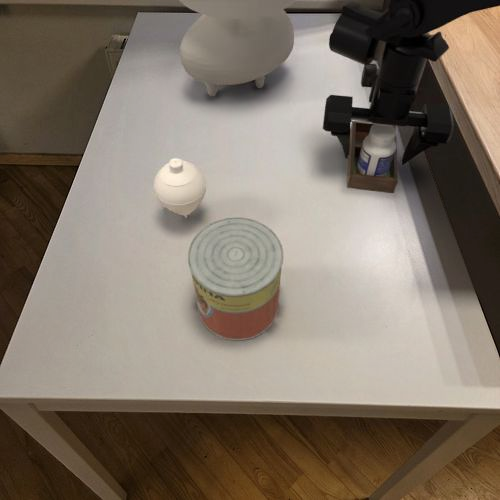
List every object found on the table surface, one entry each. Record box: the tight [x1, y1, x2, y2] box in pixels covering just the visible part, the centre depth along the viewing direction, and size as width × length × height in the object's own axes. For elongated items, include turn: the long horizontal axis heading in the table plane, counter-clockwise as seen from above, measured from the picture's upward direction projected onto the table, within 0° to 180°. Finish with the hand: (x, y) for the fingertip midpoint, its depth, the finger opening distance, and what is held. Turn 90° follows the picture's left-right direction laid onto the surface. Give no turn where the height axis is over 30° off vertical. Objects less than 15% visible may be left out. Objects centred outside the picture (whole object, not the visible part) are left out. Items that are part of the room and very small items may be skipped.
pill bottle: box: [357, 124, 397, 177], centre depth 73 cm, size 5×5×9 cm
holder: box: [346, 122, 399, 194], centre depth 78 cm, size 8×15×3 cm, turn 171°
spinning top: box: [153, 157, 207, 219], centre depth 67 cm, size 8×8×12 cm
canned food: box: [187, 217, 284, 342], centre depth 58 cm, size 11×11×12 cm
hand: (374, 159), depth 75 cm, fingers open, 9 cm apart
